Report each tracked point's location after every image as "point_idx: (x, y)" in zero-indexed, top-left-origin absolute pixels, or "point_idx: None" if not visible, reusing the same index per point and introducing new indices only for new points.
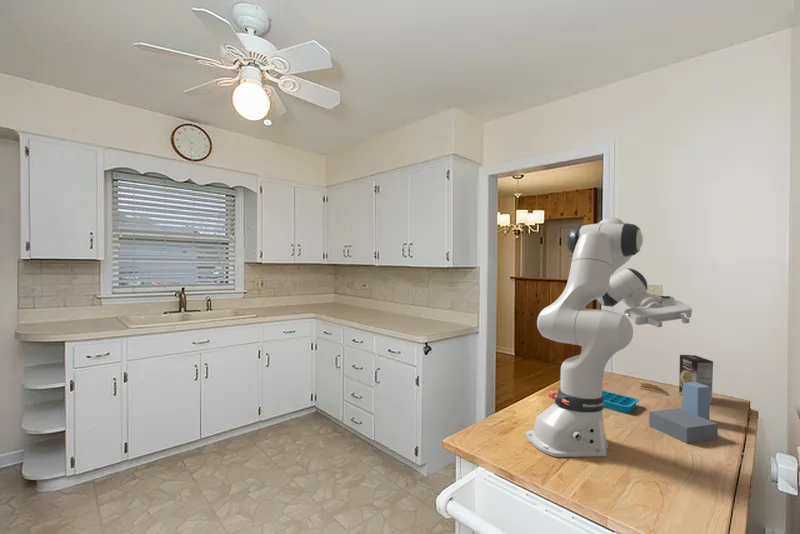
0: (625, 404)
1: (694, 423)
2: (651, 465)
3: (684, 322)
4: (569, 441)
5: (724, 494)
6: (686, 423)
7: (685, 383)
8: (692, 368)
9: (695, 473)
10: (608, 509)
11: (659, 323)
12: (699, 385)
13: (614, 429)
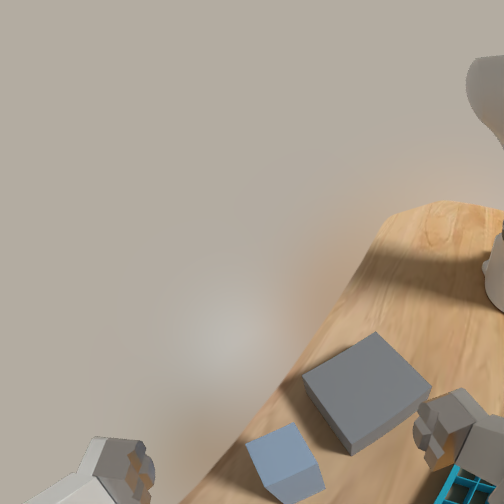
0: (465, 480)
1: (352, 358)
2: (434, 270)
3: (150, 474)
4: None
5: (371, 250)
6: (369, 351)
7: (312, 457)
8: None
9: (388, 273)
10: (460, 206)
11: (446, 393)
12: (273, 448)
13: (486, 353)
